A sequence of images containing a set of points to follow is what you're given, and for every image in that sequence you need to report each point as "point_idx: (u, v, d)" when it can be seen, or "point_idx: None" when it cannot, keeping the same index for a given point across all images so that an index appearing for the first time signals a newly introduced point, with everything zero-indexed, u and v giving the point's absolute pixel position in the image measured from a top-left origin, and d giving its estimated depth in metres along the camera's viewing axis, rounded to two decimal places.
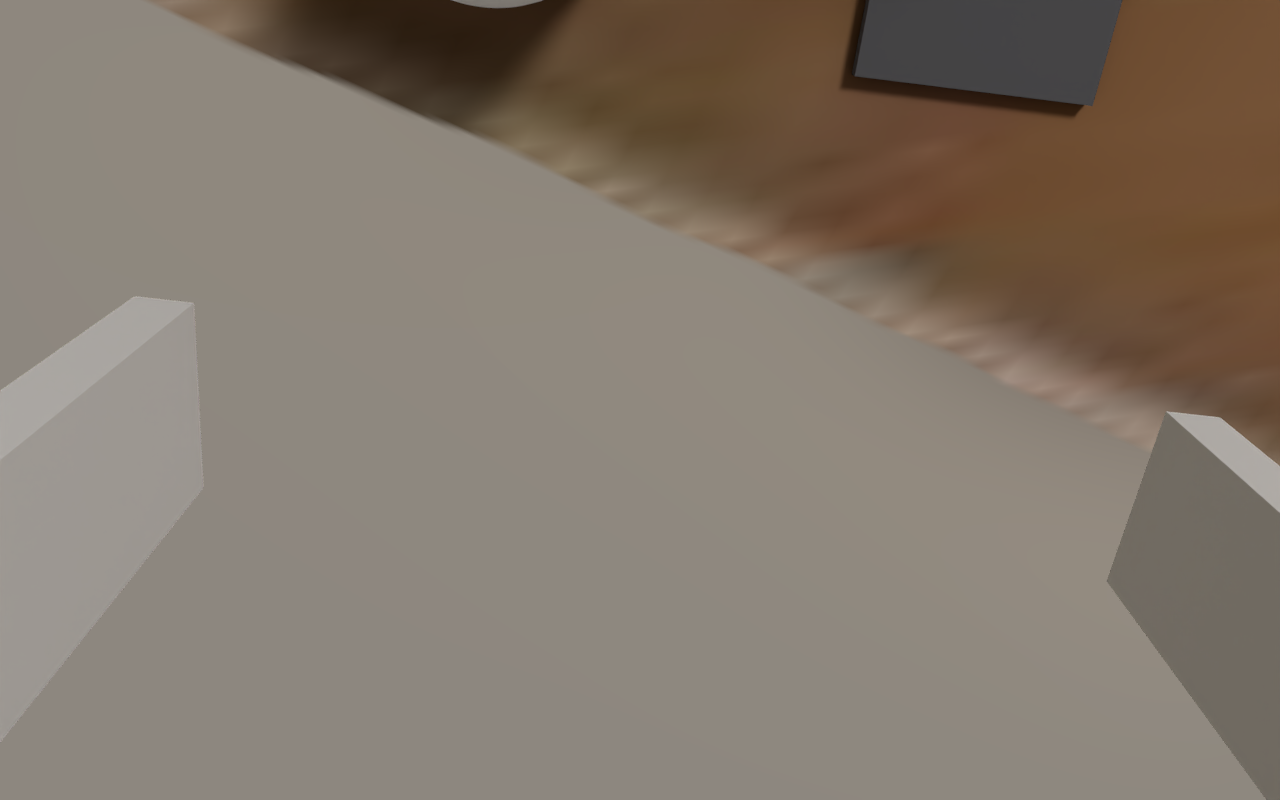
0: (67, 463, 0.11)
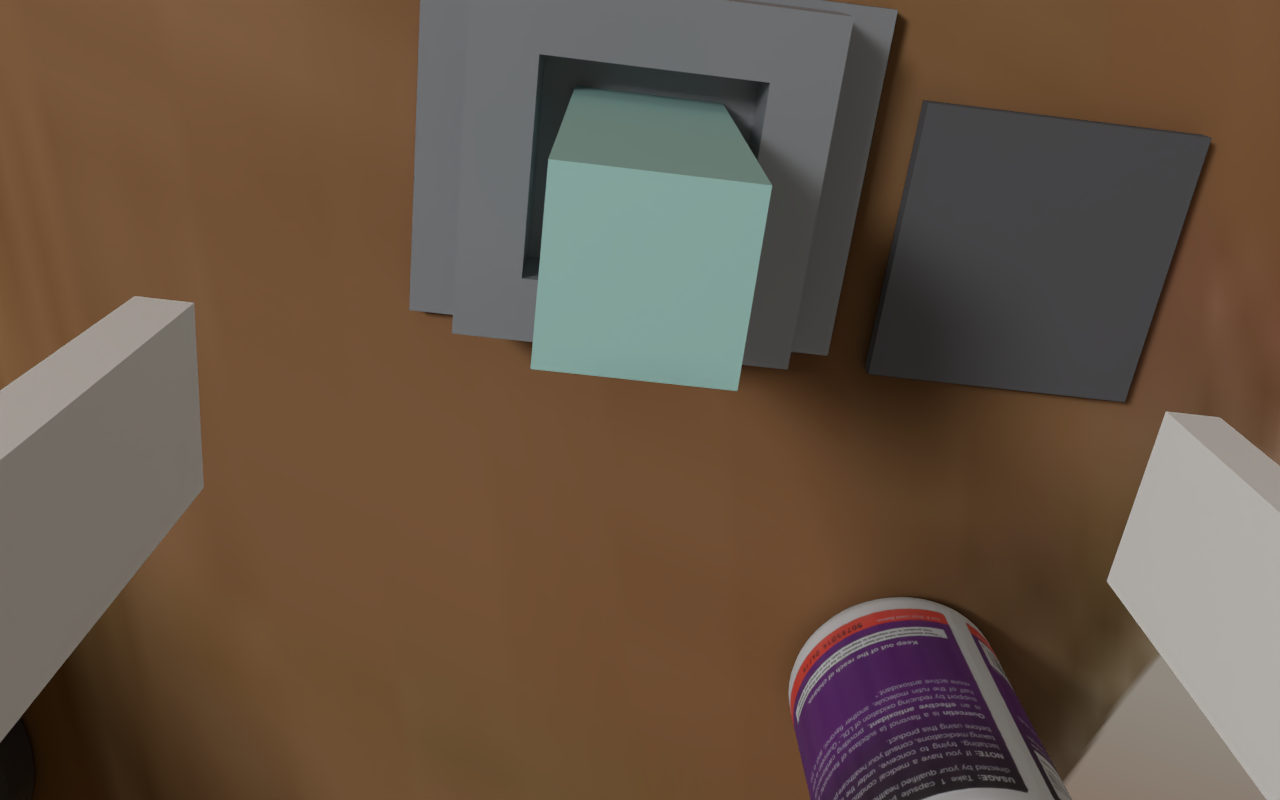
0: (67, 463, 0.11)
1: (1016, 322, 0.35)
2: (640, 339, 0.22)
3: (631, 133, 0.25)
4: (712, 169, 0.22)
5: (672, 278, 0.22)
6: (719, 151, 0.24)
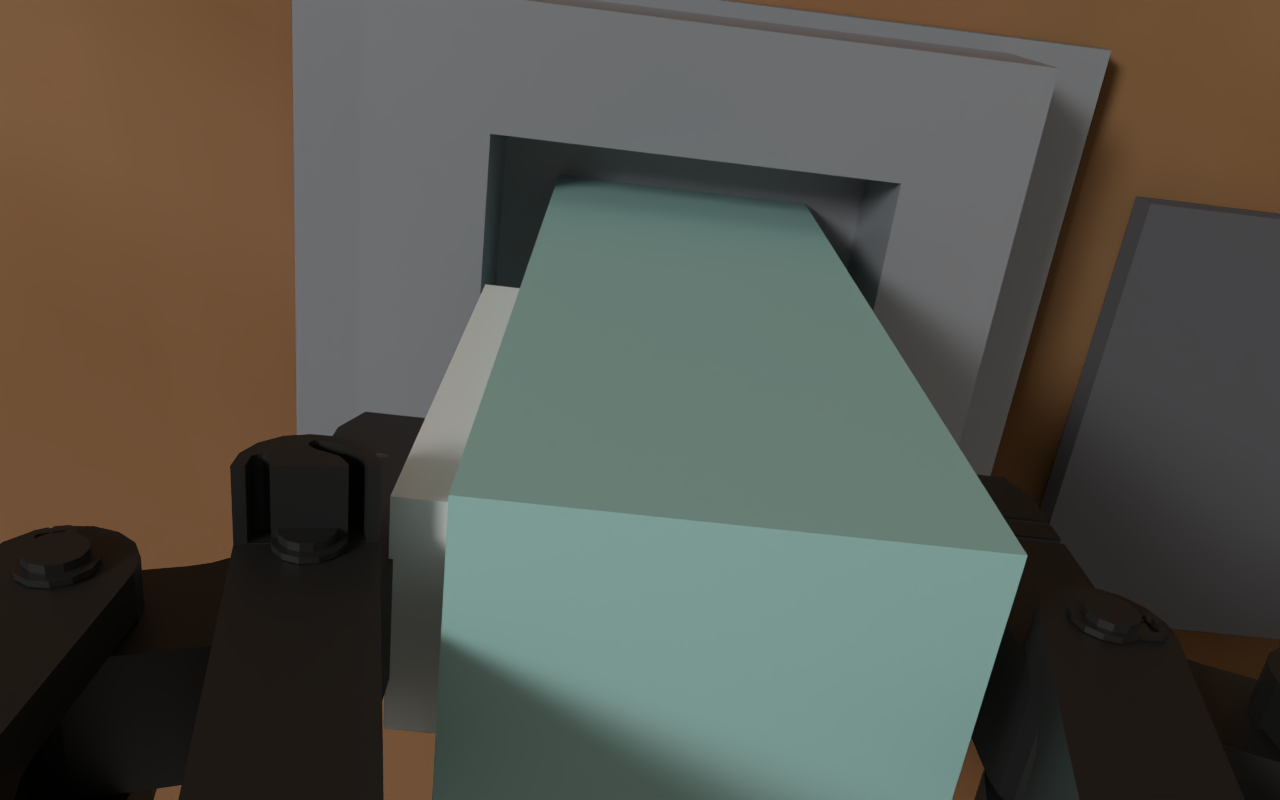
0: None
1: (1262, 540, 0.22)
2: None
3: (658, 328, 0.12)
4: (860, 483, 0.09)
5: (762, 751, 0.09)
6: (848, 382, 0.11)
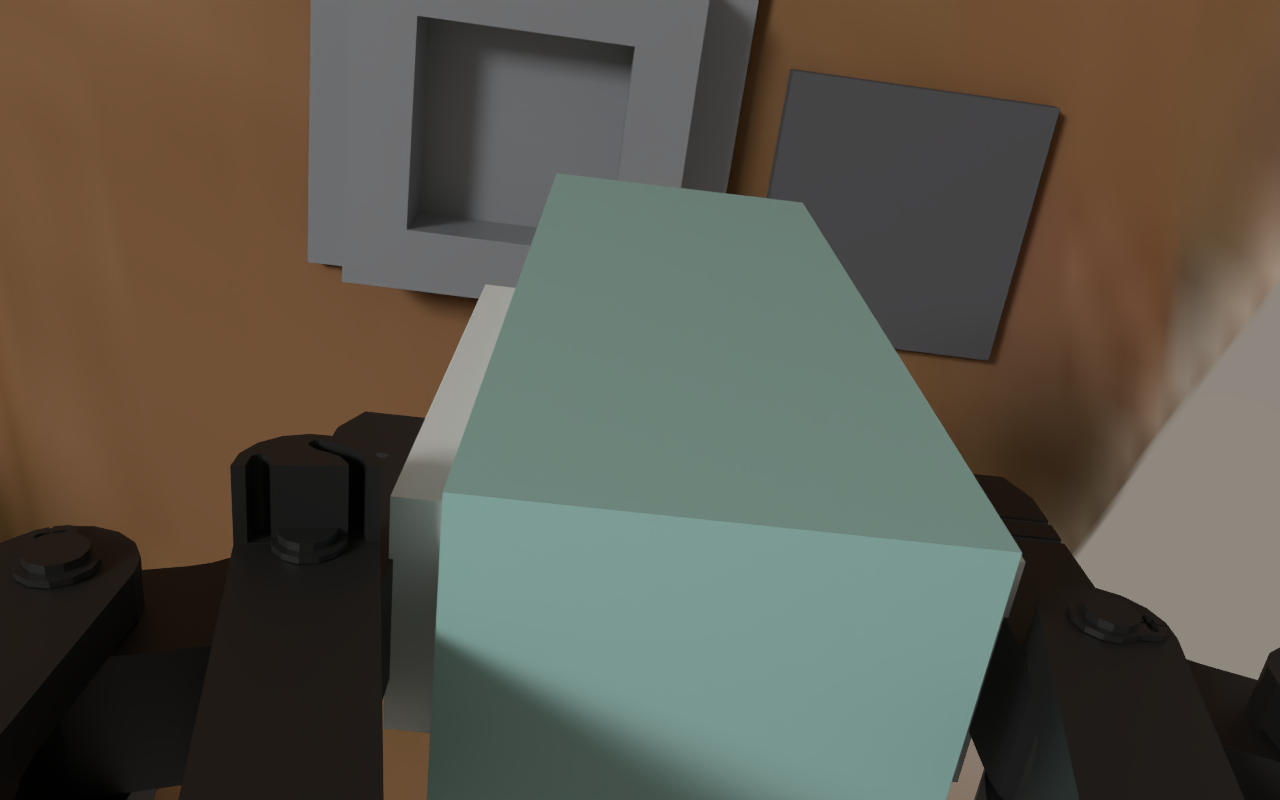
0: None
1: (883, 282, 0.37)
2: None
3: (654, 326, 0.12)
4: (855, 480, 0.09)
5: (757, 747, 0.09)
6: (844, 380, 0.11)
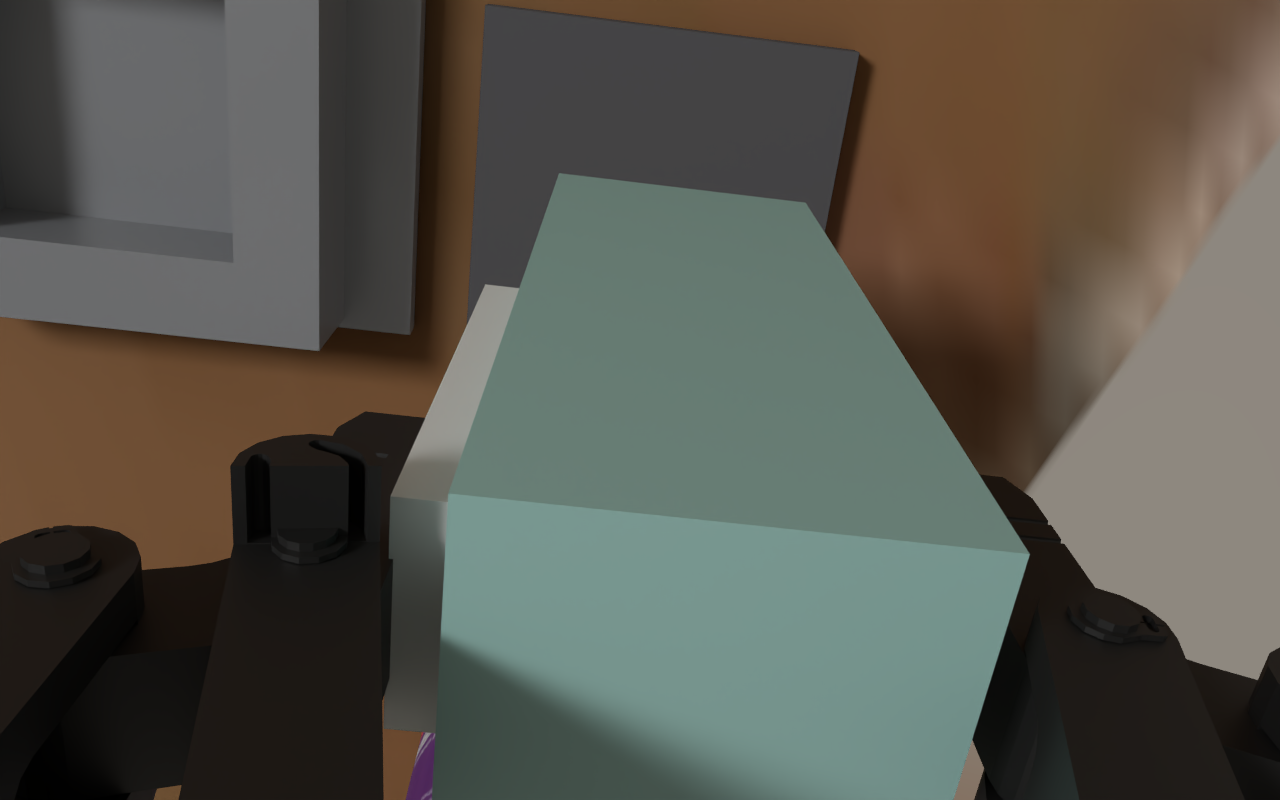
0: None
1: None
2: None
3: (658, 327, 0.12)
4: (861, 481, 0.09)
5: (763, 750, 0.09)
6: (850, 380, 0.11)
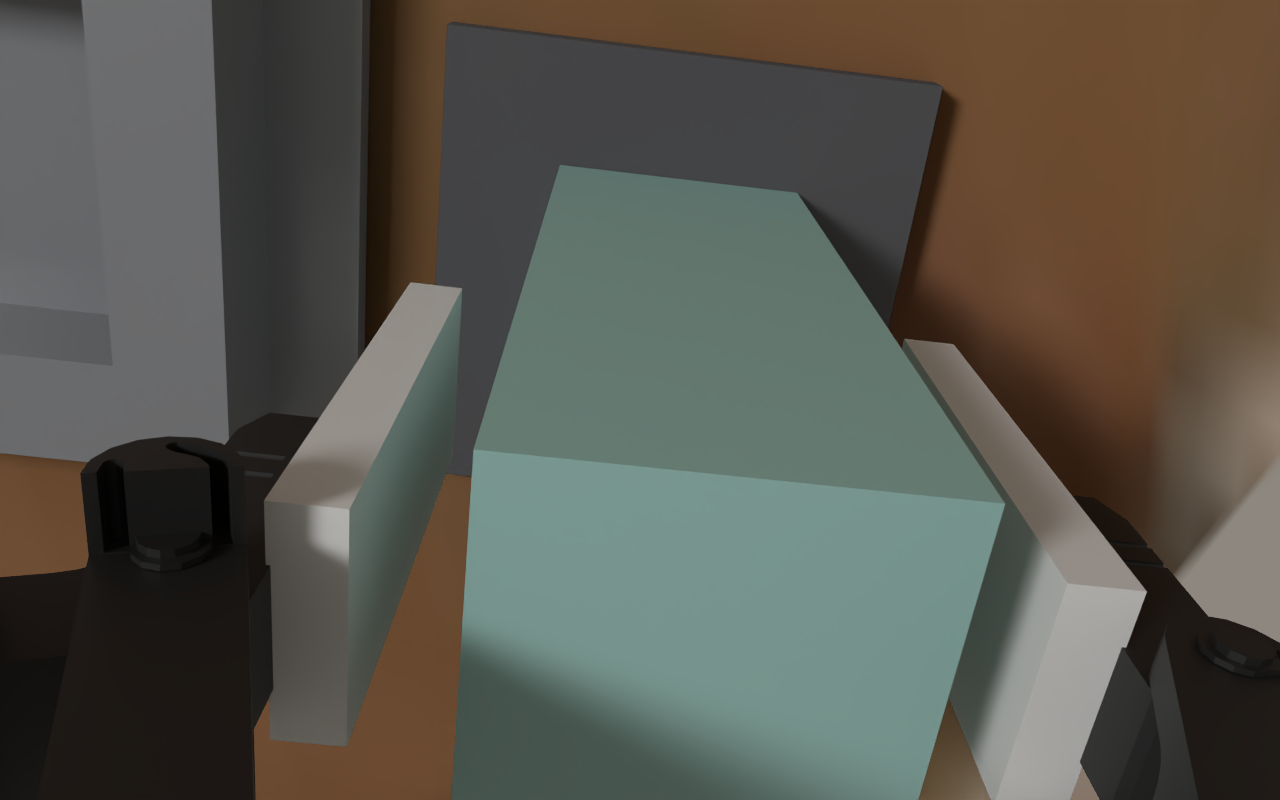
0: (415, 422, 0.12)
1: None
2: None
3: (660, 305, 0.13)
4: (851, 441, 0.10)
5: (761, 689, 0.10)
6: (840, 354, 0.12)
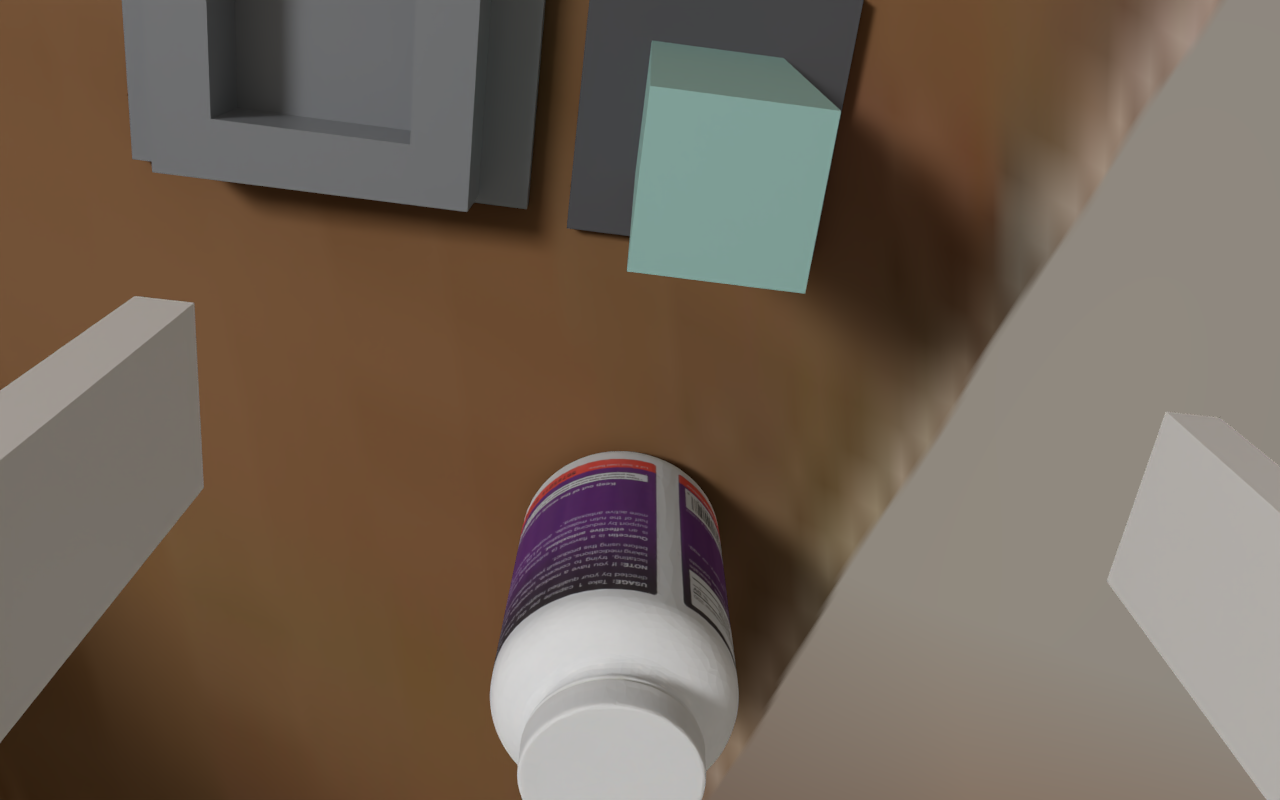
0: (67, 463, 0.11)
1: None
2: (722, 246, 0.26)
3: (712, 73, 0.28)
4: (788, 98, 0.25)
5: (752, 192, 0.25)
6: (790, 88, 0.28)
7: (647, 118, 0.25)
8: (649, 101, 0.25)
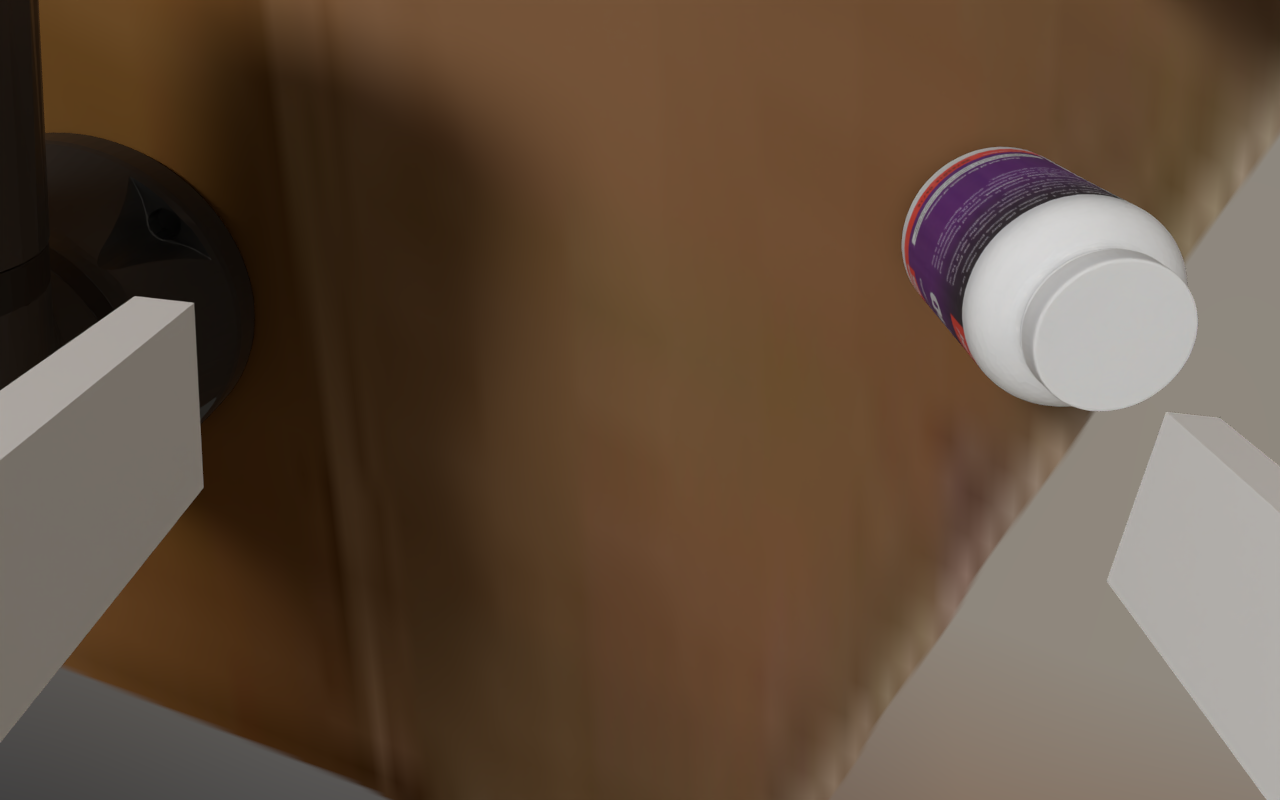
0: (67, 463, 0.11)
1: None
2: None
3: None
4: None
5: None
6: None
7: None
8: None
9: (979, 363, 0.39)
